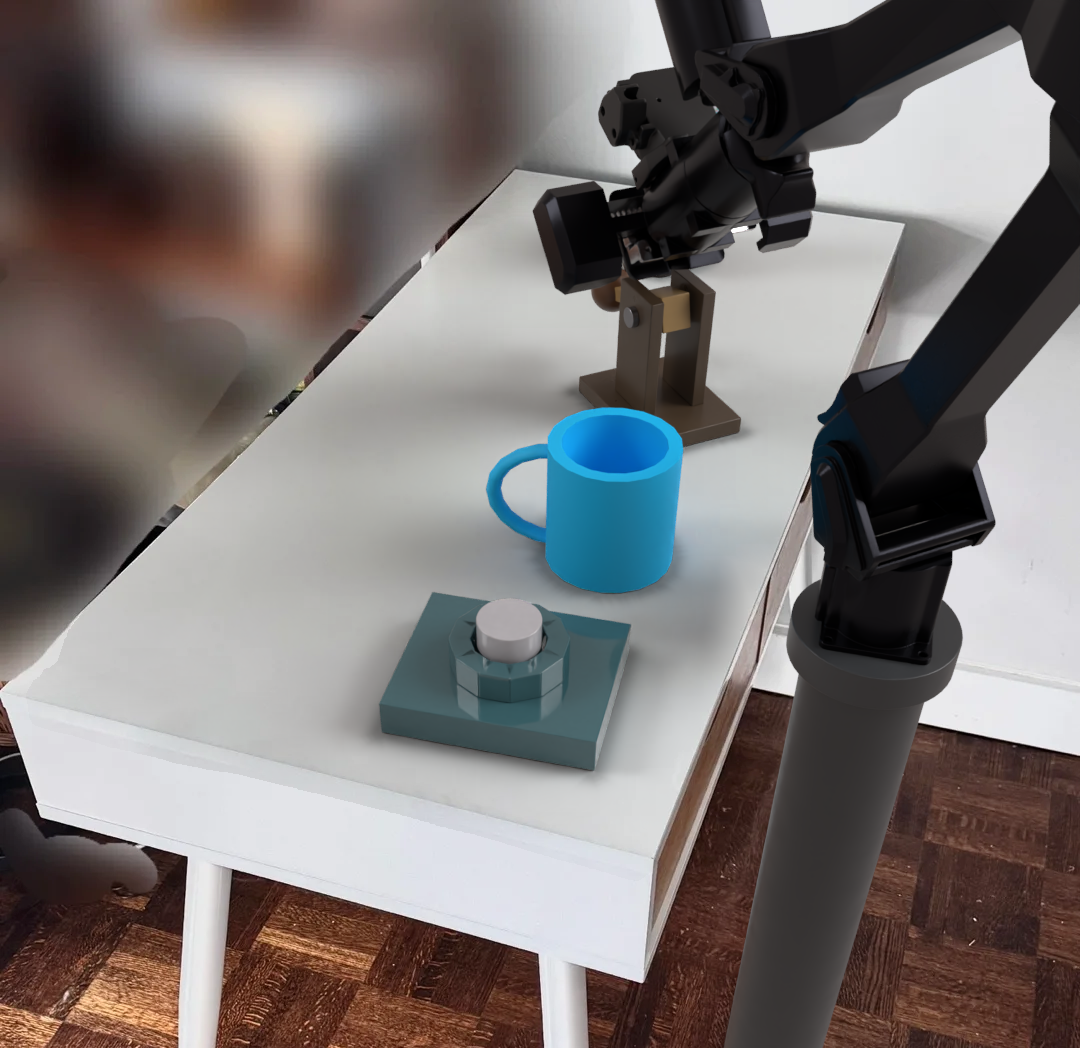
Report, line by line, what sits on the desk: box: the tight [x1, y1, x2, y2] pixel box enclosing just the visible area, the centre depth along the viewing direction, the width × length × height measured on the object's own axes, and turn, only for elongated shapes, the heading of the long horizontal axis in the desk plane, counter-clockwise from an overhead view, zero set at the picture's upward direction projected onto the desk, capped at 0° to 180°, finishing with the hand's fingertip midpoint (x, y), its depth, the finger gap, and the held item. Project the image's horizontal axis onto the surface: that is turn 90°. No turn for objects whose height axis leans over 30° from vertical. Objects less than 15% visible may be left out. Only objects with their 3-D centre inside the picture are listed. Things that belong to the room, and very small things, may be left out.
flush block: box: [378, 591, 632, 772], centre depth 74 cm, size 12×10×4 cm
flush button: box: [476, 597, 542, 664], centre depth 73 cm, size 4×4×2 cm
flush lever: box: [590, 268, 691, 335], centre depth 95 cm, size 11×3×3 cm, turn 25°
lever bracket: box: [578, 269, 742, 448], centre depth 94 cm, size 10×8×10 cm
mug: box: [485, 408, 684, 594], centre depth 83 cm, size 12×8×8 cm
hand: (627, 264), depth 95 cm, fingers closed, pressing on lever bracket
